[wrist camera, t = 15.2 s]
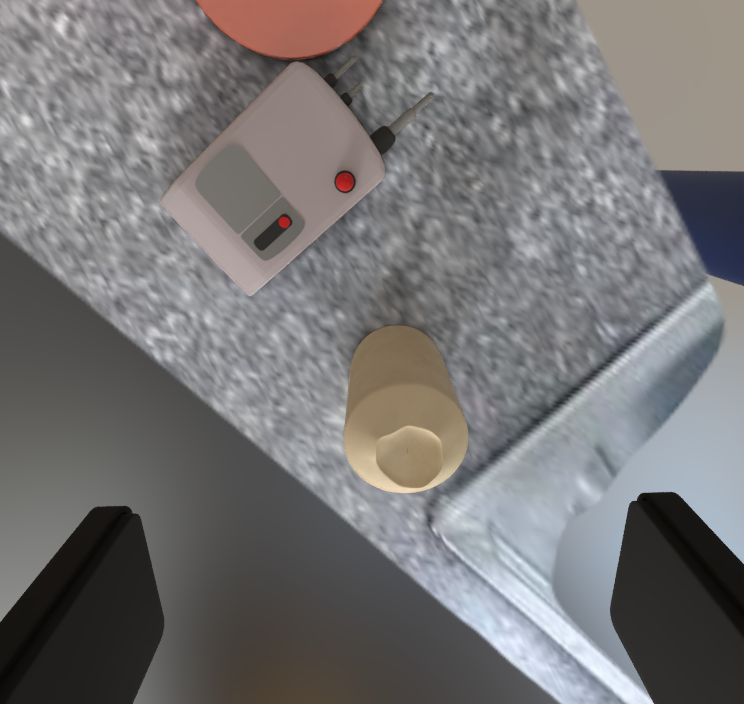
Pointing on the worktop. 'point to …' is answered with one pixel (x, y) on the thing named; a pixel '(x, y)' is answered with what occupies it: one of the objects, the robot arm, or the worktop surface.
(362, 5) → the lid
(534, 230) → the worktop surface
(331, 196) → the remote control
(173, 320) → the worktop surface
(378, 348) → the candle
